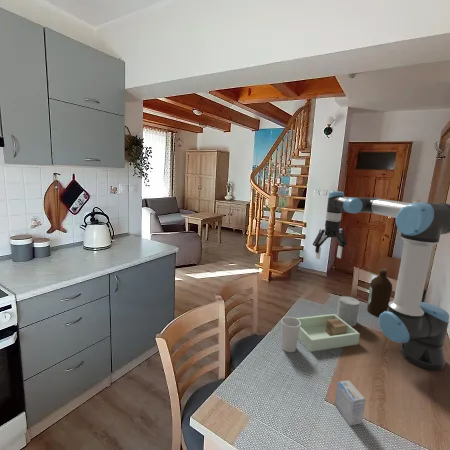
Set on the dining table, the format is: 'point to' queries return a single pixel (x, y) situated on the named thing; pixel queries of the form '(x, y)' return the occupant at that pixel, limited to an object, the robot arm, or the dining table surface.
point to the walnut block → (335, 327)
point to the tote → (324, 333)
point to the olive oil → (379, 293)
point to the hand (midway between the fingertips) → (328, 258)
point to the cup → (289, 333)
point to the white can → (348, 309)
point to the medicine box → (349, 402)
